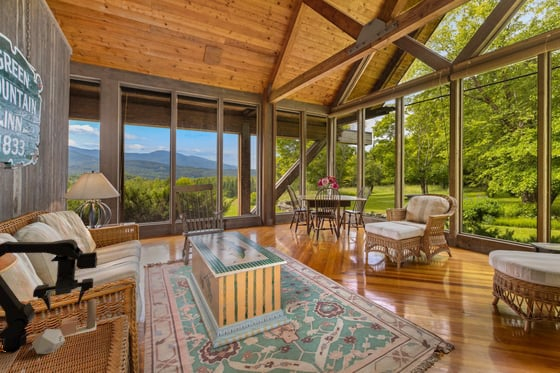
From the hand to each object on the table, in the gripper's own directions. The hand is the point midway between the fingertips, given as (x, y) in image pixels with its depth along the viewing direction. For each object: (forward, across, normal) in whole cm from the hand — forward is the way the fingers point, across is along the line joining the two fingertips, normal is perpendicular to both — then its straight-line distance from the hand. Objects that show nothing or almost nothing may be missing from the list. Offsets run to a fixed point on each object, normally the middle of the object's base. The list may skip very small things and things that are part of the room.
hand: (64, 307), depth 104 cm
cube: (+12, +2, +2) cm, 12 cm away
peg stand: (+13, +5, +2) cm, 14 cm away
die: (+13, -3, -8) cm, 16 cm away
